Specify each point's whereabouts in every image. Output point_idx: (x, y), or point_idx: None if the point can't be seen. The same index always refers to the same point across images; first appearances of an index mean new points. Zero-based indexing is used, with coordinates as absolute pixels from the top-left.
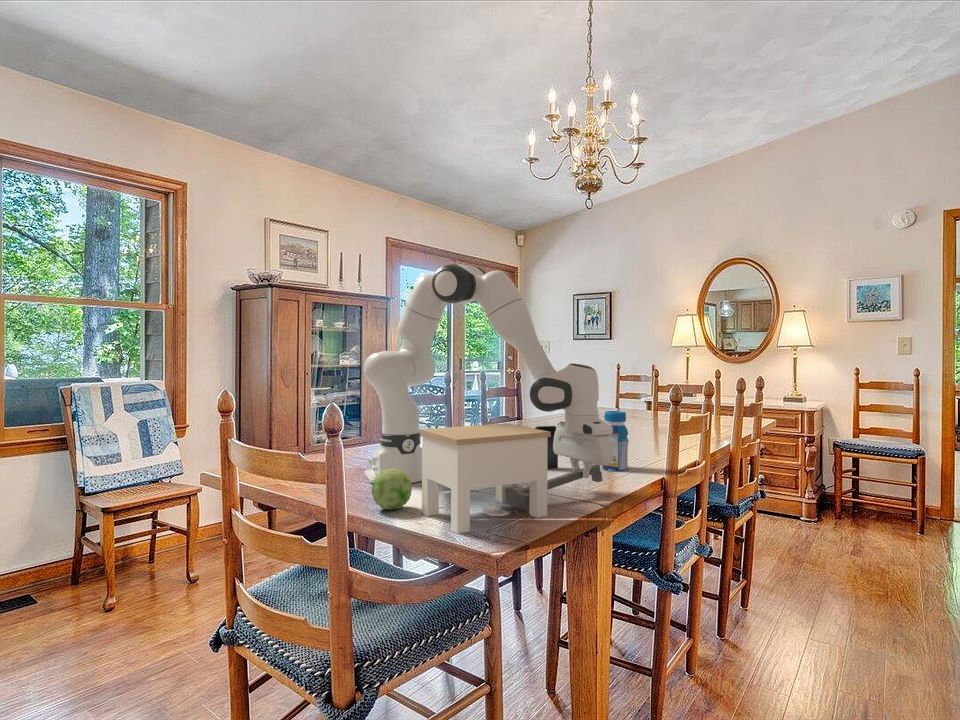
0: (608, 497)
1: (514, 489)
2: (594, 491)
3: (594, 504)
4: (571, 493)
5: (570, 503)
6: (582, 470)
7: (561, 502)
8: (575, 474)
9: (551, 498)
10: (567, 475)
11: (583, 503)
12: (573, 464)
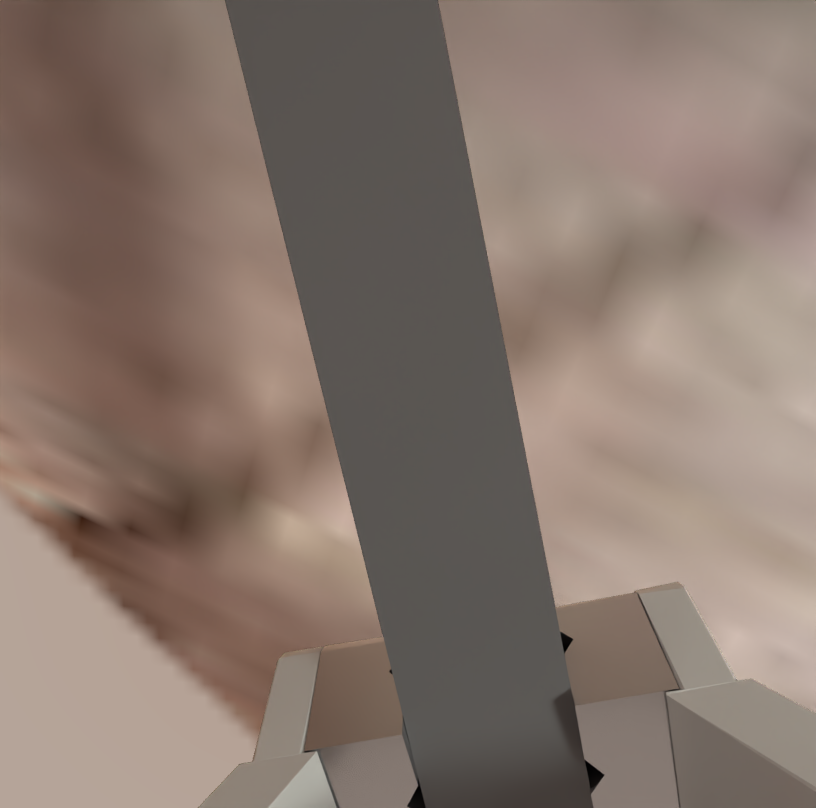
0: None
1: None
2: None
3: (132, 469)
4: (766, 458)
5: (256, 175)
6: (456, 793)
7: None
8: (358, 523)
9: (641, 6)
10: (333, 263)
11: (212, 359)
12: (795, 794)
